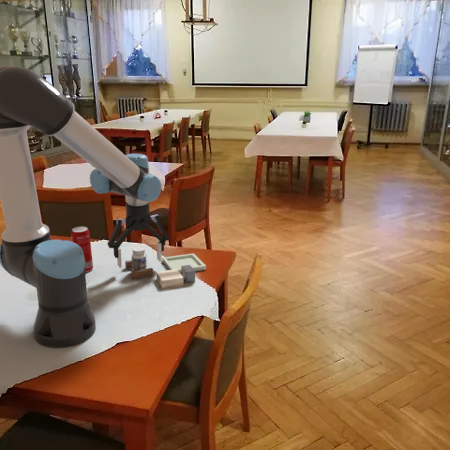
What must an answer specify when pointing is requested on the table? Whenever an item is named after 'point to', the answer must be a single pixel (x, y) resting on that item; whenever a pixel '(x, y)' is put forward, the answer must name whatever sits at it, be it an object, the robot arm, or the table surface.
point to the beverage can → (83, 244)
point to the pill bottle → (138, 259)
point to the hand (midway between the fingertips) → (139, 263)
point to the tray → (184, 262)
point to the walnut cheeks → (139, 271)
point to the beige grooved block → (169, 278)
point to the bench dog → (188, 273)
